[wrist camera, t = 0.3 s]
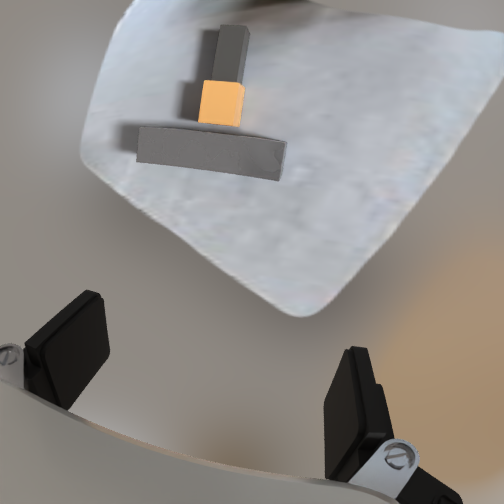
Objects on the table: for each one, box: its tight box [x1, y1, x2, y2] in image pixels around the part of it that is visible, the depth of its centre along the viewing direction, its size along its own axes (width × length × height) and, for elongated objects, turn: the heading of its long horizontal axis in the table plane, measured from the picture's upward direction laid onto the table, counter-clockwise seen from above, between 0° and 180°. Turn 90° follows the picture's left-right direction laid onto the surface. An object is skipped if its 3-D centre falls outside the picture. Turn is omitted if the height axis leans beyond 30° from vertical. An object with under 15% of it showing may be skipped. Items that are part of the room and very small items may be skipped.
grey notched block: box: [136, 127, 287, 181], centre depth 35 cm, size 4×16×6 cm, turn 82°
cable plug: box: [198, 25, 250, 127], centre depth 32 cm, size 12×4×4 cm, turn 172°
